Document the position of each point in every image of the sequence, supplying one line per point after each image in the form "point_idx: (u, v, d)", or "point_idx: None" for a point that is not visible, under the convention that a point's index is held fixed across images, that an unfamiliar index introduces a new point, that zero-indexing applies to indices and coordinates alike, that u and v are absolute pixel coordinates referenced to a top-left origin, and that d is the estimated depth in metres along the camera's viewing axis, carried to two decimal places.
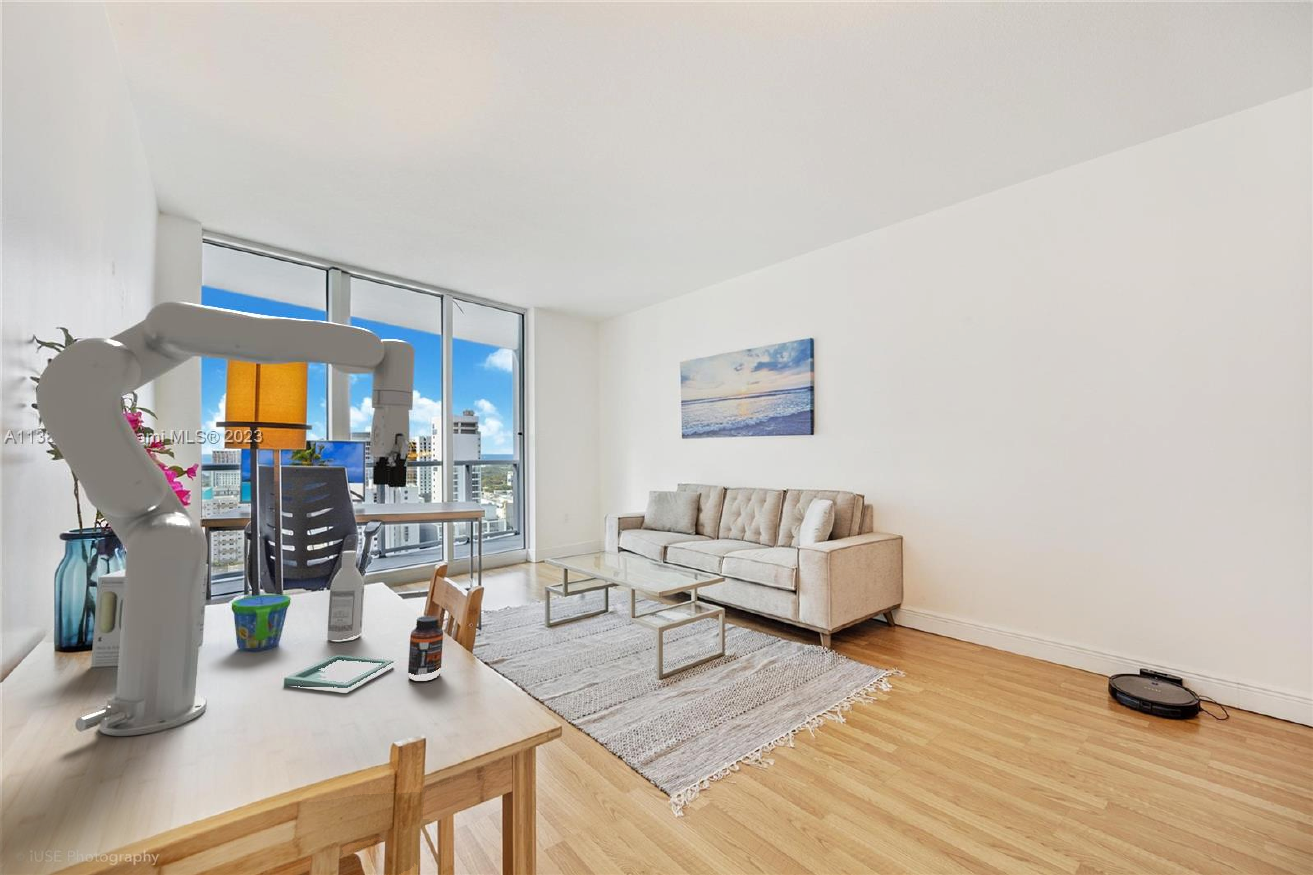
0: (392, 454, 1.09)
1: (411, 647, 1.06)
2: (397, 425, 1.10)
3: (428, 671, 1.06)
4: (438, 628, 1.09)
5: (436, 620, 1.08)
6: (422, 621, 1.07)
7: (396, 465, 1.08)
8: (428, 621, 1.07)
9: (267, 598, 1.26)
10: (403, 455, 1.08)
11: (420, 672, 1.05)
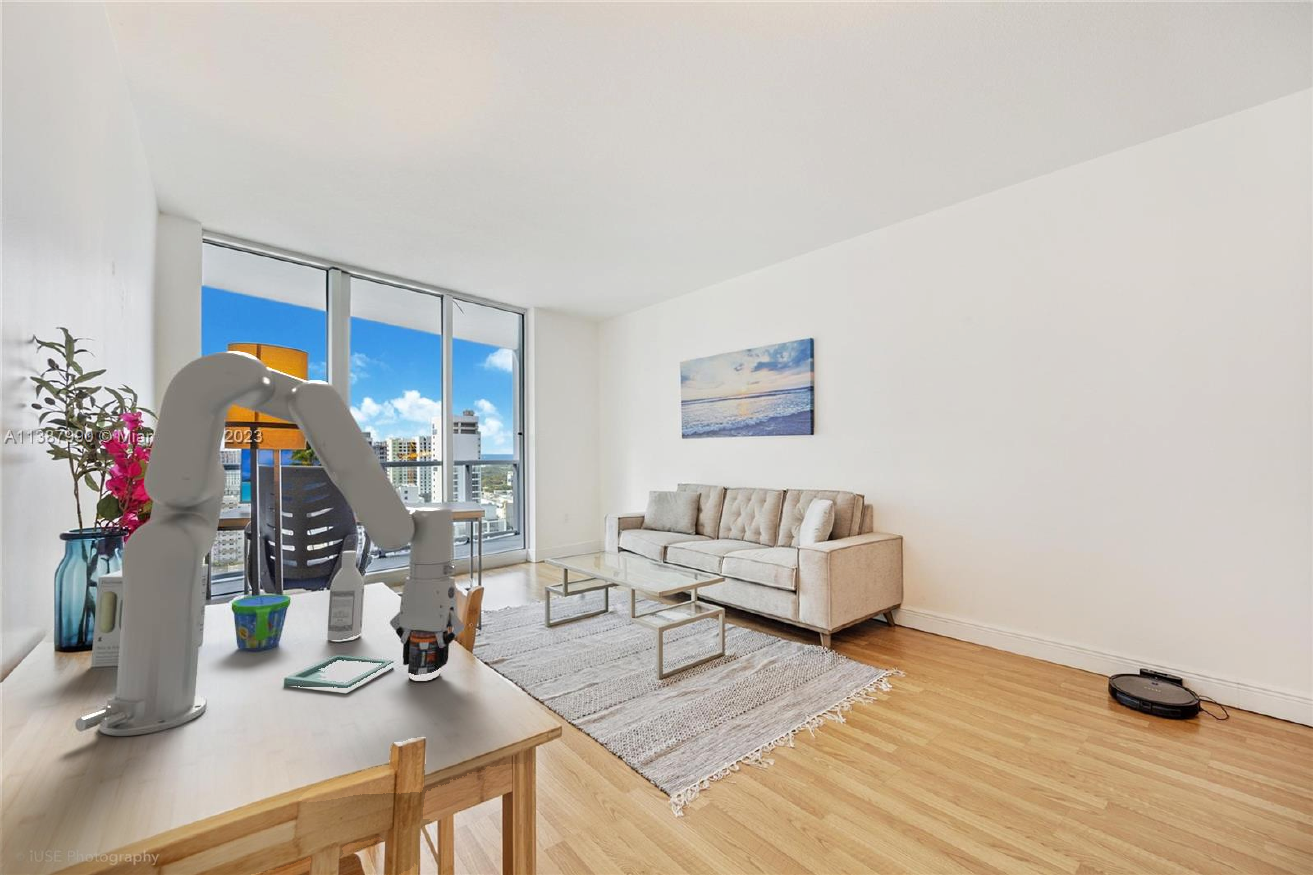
0: None
1: (411, 647, 1.06)
2: None
3: (428, 671, 1.06)
4: None
5: None
6: None
7: None
8: None
9: (267, 598, 1.26)
10: None
11: (420, 671, 1.05)
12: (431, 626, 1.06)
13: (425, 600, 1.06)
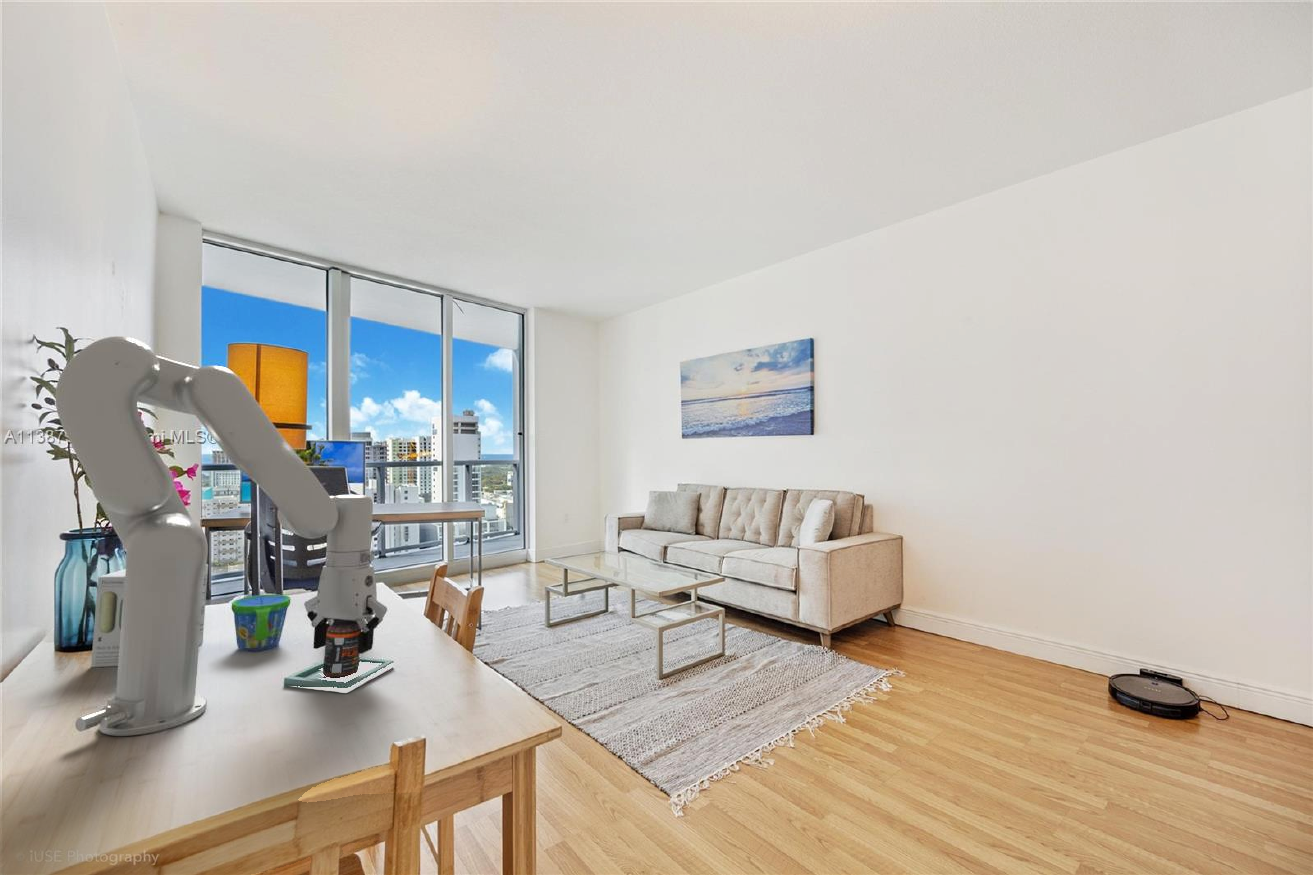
0: None
1: (326, 642, 1.05)
2: None
3: (342, 667, 1.05)
4: (356, 624, 1.08)
5: None
6: None
7: None
8: None
9: (267, 598, 1.26)
10: None
11: (334, 667, 1.04)
12: (347, 615, 1.05)
13: (341, 588, 1.05)
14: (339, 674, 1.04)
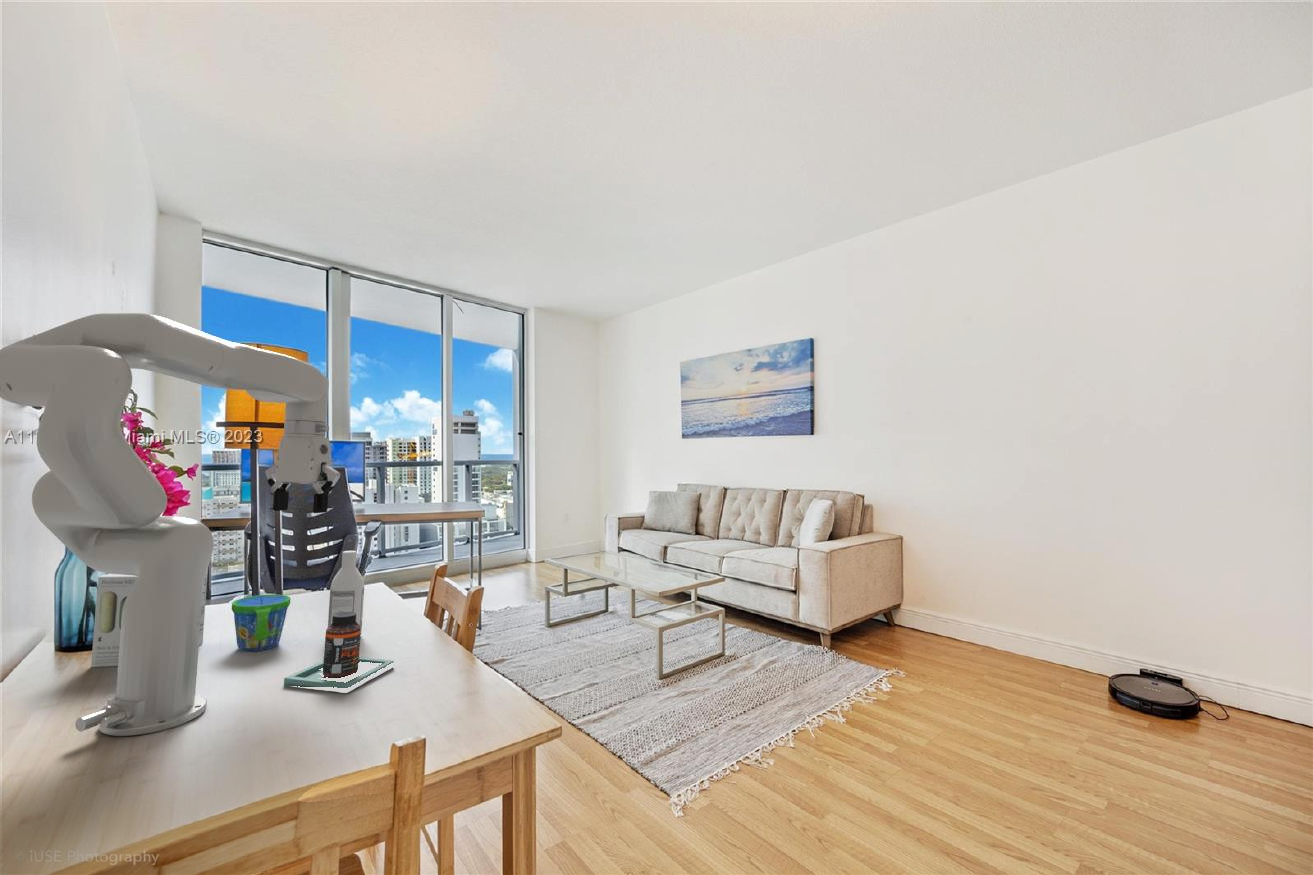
0: None
1: (326, 643, 1.05)
2: None
3: (342, 667, 1.05)
4: (355, 624, 1.08)
5: (352, 616, 1.07)
6: (337, 617, 1.06)
7: None
8: (343, 617, 1.06)
9: (267, 598, 1.26)
10: None
11: (334, 668, 1.04)
12: (303, 478, 1.15)
13: (298, 454, 1.16)
14: (339, 674, 1.04)
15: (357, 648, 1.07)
